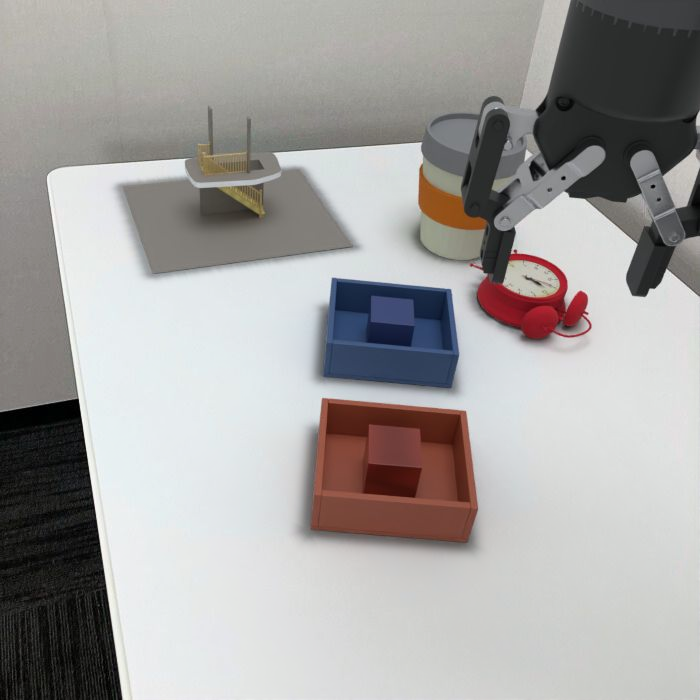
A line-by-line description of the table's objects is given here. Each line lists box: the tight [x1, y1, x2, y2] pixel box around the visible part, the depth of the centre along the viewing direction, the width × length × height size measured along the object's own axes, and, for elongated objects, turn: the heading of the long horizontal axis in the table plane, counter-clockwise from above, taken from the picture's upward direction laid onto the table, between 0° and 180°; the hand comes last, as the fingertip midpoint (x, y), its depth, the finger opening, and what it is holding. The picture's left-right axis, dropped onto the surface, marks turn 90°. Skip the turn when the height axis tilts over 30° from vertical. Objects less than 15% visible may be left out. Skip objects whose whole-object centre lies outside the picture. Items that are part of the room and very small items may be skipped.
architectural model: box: [122, 105, 354, 275], centre depth 96 cm, size 21×25×14 cm
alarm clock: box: [469, 249, 593, 340], centre depth 89 cm, size 10×6×15 cm
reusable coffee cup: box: [417, 111, 528, 261], centre depth 96 cm, size 13×13×15 cm
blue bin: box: [322, 277, 460, 389], centre depth 82 cm, size 13×11×4 cm
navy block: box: [366, 296, 415, 347], centre depth 82 cm, size 4×4×4 cm
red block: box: [363, 424, 422, 498], centre depth 67 cm, size 4×4×4 cm
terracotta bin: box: [310, 397, 479, 543], centre depth 67 cm, size 13×11×4 cm
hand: (565, 282), depth 46 cm, fingers open, 8 cm apart
